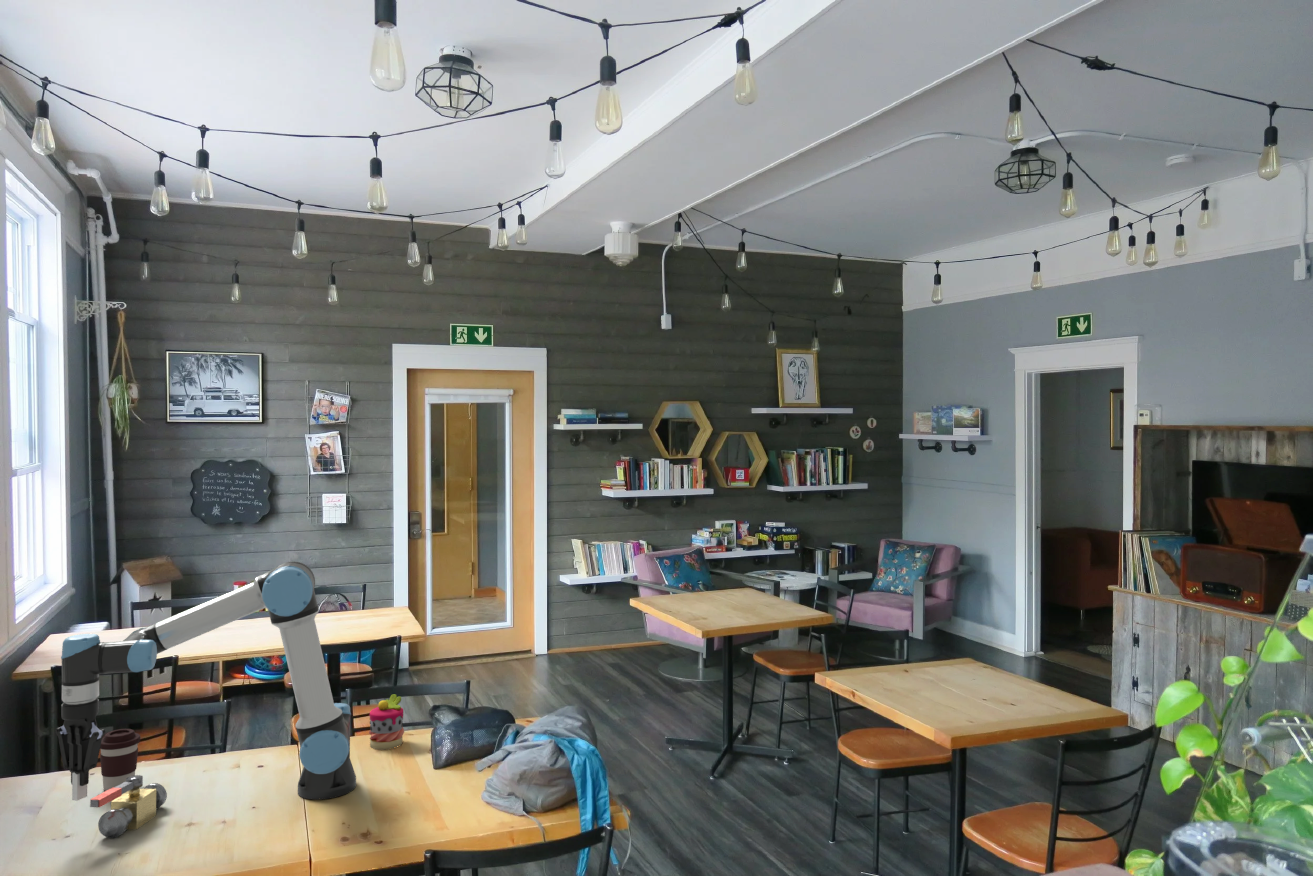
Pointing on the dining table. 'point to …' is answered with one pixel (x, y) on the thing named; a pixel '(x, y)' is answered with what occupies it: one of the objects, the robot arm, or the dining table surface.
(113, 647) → the robot arm
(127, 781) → the lever
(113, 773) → the coffee cup
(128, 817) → the valve
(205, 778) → the dining table surface
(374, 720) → the cake
